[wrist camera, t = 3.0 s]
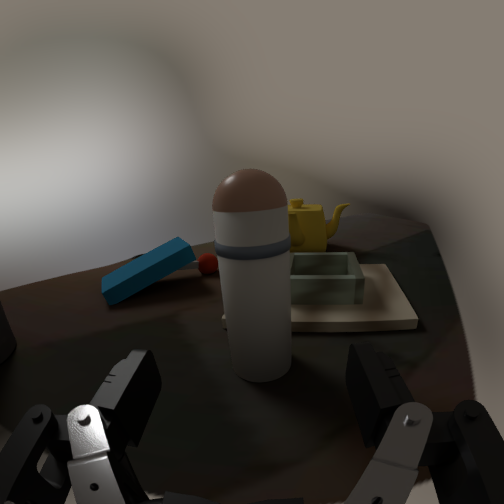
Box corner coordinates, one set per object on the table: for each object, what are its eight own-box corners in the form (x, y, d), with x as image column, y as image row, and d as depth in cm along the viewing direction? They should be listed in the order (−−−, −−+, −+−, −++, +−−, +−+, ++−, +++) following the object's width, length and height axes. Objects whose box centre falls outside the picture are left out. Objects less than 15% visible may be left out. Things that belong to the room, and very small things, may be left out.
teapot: (351, 249, 50) (351, 198, 47) (294, 268, 43) (292, 206, 41) (300, 236, 62) (298, 193, 60) (247, 249, 55) (243, 201, 53)
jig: (223, 328, 28) (218, 291, 27) (254, 272, 43) (252, 245, 42) (416, 328, 24) (423, 291, 22) (384, 271, 38) (386, 244, 37)
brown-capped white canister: (223, 379, 20) (194, 173, 16) (239, 343, 25) (221, 171, 21) (289, 385, 19) (282, 166, 15) (295, 346, 24) (289, 166, 20)
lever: (126, 332, 36) (229, 273, 42) (101, 293, 33) (212, 233, 40) (122, 312, 42) (212, 262, 48) (102, 277, 39) (197, 226, 45)
